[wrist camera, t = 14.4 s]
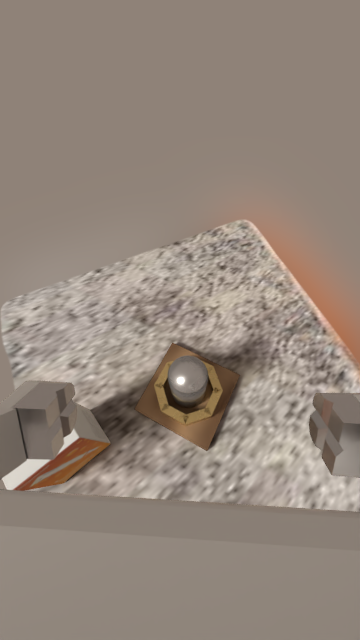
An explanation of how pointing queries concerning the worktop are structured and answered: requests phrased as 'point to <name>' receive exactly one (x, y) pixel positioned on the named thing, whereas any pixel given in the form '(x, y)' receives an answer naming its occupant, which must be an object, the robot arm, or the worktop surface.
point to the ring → (194, 416)
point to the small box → (62, 456)
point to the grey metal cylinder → (188, 381)
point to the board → (195, 432)
